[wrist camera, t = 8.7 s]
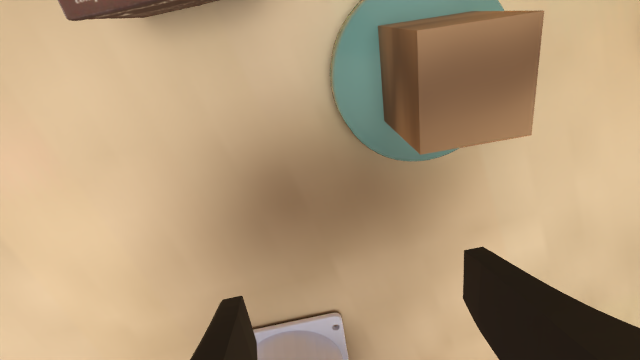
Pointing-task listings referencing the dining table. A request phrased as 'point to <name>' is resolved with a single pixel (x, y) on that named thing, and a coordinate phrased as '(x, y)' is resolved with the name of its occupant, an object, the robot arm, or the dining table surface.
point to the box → (122, 8)
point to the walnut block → (460, 77)
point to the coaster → (365, 71)
